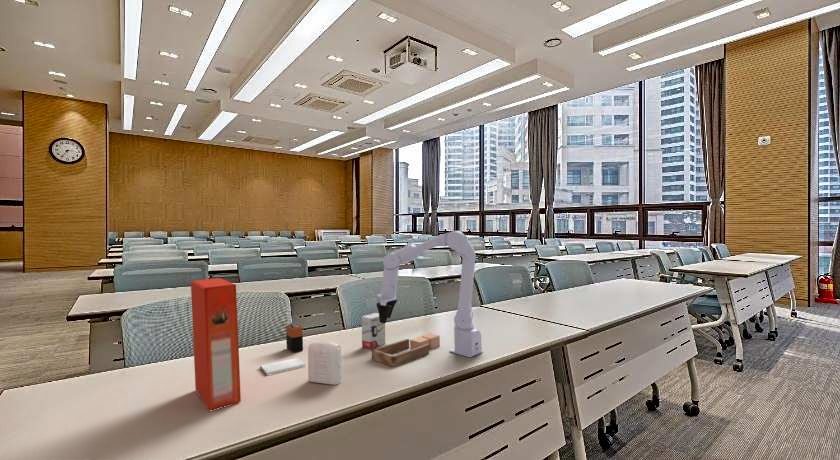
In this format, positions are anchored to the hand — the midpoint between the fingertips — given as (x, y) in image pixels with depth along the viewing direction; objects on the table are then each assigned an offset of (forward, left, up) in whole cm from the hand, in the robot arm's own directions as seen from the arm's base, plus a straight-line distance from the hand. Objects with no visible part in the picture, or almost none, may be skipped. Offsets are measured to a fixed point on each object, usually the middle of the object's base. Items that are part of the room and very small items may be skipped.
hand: (385, 320), depth 150 cm
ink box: (+6, +1, -11) cm, 13 cm away
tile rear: (-11, -13, -11) cm, 20 cm away
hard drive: (+11, +36, -12) cm, 39 cm away
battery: (+25, +24, -11) cm, 36 cm away
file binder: (+4, +59, -11) cm, 60 cm away
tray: (-11, +2, -11) cm, 15 cm away
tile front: (-11, -7, -11) cm, 17 cm away
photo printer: (-10, +33, -11) cm, 36 cm away
